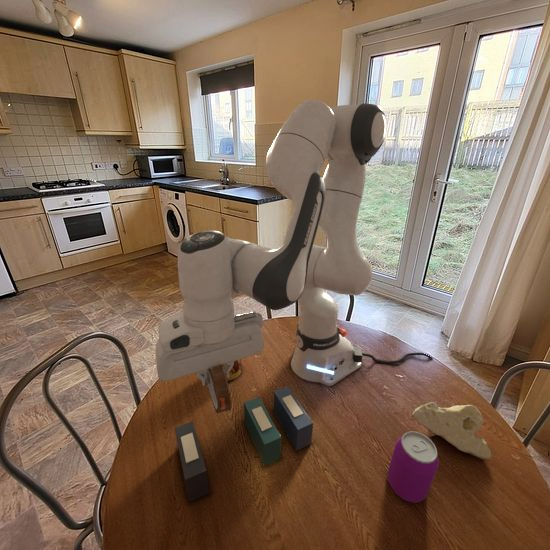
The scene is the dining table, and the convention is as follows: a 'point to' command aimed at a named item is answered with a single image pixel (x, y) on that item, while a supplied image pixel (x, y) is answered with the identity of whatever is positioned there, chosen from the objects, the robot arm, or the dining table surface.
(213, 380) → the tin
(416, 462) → the beverage can
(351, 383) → the dining table surface
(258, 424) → the block
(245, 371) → the dining table surface
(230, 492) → the dining table surface
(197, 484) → the block
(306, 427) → the block
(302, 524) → the dining table surface
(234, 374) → the canned food
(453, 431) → the cheese
